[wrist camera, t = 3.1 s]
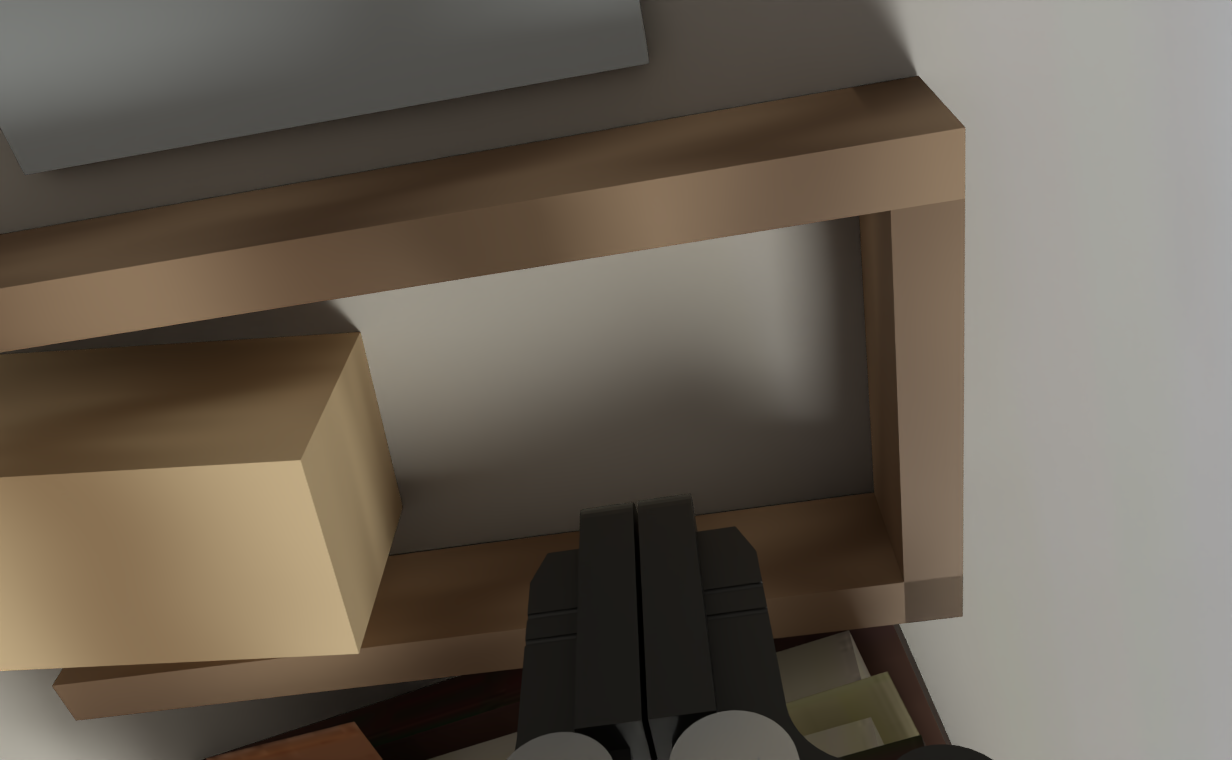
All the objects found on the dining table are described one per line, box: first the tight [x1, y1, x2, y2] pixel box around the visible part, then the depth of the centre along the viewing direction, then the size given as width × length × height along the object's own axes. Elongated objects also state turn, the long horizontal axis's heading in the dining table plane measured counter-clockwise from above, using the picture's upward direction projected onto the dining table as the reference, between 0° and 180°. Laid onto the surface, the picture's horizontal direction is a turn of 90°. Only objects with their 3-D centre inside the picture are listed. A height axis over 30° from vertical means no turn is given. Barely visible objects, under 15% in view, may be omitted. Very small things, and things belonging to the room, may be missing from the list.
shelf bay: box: [0, 76, 965, 720], centre depth 17 cm, size 17×9×2 cm, turn 100°
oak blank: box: [0, 332, 403, 671], centre depth 17 cm, size 7×4×4 cm, turn 94°
